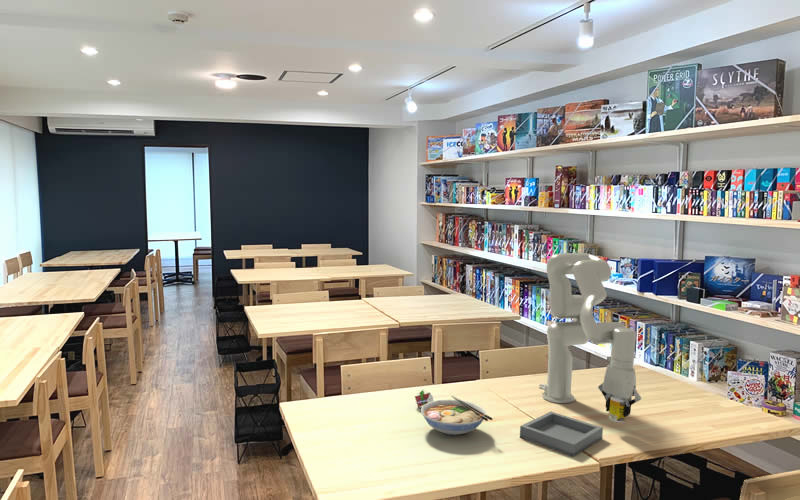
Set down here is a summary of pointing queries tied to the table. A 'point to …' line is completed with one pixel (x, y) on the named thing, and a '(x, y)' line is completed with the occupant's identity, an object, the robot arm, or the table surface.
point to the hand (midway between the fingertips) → (617, 412)
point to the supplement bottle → (617, 409)
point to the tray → (561, 433)
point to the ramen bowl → (453, 416)
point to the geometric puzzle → (423, 398)
